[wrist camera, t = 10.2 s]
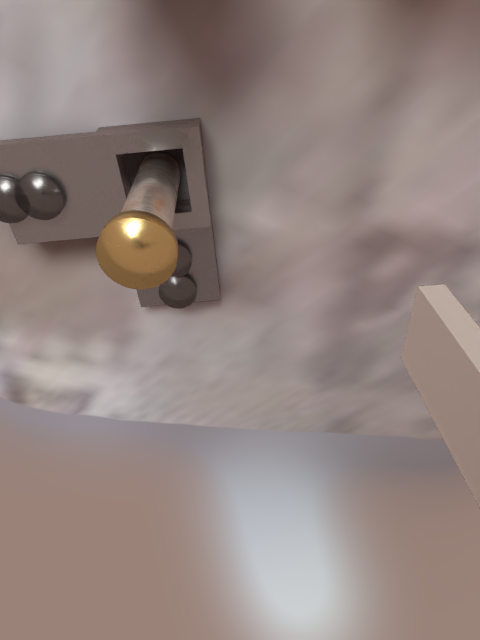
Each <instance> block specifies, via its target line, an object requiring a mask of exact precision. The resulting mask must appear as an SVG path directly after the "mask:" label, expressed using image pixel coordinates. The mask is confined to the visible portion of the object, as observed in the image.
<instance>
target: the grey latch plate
mask: <svg viewBox="0 0 480 640" xmlns="http://www.w3.org/2000/svg"><path fill="white" fill-rule="evenodd" d="M197 122H199V126H200V120H199V118H197V119H186V120H176V121H165V122H154V123H143V124H132V125H121V126H110V127H100V128H99V129H98V130H97V131H96V132H99V131H110V130H121V129H132V128H142V127H153V126H164V125H175V124H186V123H197ZM200 135H201V129H200ZM201 143H202V137H201ZM202 151H203V145H202ZM120 157H121V161H122V166H123V170H124V174H125V178H126V183H127V187H128V191H129V192H130V189H131V183H130V179H129V175H128V170H127V166H126V162H125V157H124V154H120ZM203 159H204V154H203ZM204 168H205V162H204ZM205 176H206V170H205ZM206 184H207V179H206ZM207 193H208V187H207ZM208 201H209V195H208ZM183 206H191V202H190V200H182V201H176V207H183ZM209 209H210V204H209ZM210 218H211V212H210ZM173 232H174V233H175V236H176V238H177V242H178V257H177V264H176V268H175V270H174V272H173V274H172V275H171V277H170V278H169V279H168V280H167V281H165V282H164V283H163V284H161V285H159V286H157V287H154V288H150V289H137V293H138V297H139V300H140V304H141V307H147V306H157V305H168V306H170V307H173V308H184V307H187V306H189V305H190V304H192V303H193V302H199V301H210V300H220V287H219V279H218V271H217V262H216V254H215V246H214V237H213V229H212V220H211V226H209V227H198V228H188V229H177V230H173Z"/></svg>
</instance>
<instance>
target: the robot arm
mask: <svg viewBox="0 0 480 640" xmlns="http://www.w3.org/2000/svg"><path fill="white" fill-rule="evenodd" d="M401 359H402V361H403V363H404V365H405V367H406V369H407V371H408V373H409V374H410V376H411V378H412V380H413V382H414V384H415V386H416V388H417V390H418V392H419V393H420V395H421V397H422V399H423V401H424V403H425V405H426V407H427V409H428V411H429V413H430V414H431V416H432V418H433V420H434V422H435V424H436V426H437V428H438V430H439V432H440V433H441V435H442V437H443V439H444V441H445V443H446V445H447V447H448V449H449V451H450V452H451V454H452V456H453V458H454V460H455V462H456V464H457V466H458V468H459V470H460V472H461V473H462V475H463V477H464V479H465V481H466V483H467V485H468V487H469V489H470V491H471V492H472V494H473V496H474V498H475V500H476V502H477V504H478V506H479V508H480V328H479V326H478V325H477V324H476V323H475V321H474V320H473V319H472V318H471V317H470V315H469V314H468V313H467V312H466V310H465V309H464V308H463V307H462V305H461V304H460V303H459V302H458V300H457V299H456V298H455V297H454V295H453V294H452V293H451V292H450V291H449V289H448V288H447V287H446V286H445V285H432V286H418V289H417V293H416V297H415V301H414V305H413V309H412V313H411V317H410V321H409V325H408V329H407V333H406V337H405V341H404V345H403V349H402V353H401Z"/></svg>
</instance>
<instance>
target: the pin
mask: <svg viewBox="0 0 480 640" xmlns="http://www.w3.org/2000/svg"><path fill="white" fill-rule="evenodd" d="M179 182H180V168H179V166H178V164H177V162H176V161H175V160H174V159H173V158H172V157H171V156H169V155H168V154H165V153H161V152H156V153H151V154H149V155H148V156H146V157H145V158H144V159H143V161H142V163H141V165H140V168H139V170H138V172H137V175H136V177H135V180H134V182H133V185H132V187H131V189H130V192H129V194H128V197H127V199H126V201H125V204H124V206H123V209H122V211H121V213H119V214H117V215H115V216H113V217H112V218H111V219H110V220H109V221H108V222H107V223H106V224H105V226H104V227H103V229H102V232H101V234H100V236H99V238H98V241H97V245H96V255H97V260H98V262H99V265H100V266H101V268H102V270H103V271H104V272H105V273H106V275H107V276H108V277H110V278H111V279H112V280H113V281H115V282H116V283H118V284H120V285H122V286H125V287H128V288H132V289H150V288H154V287H157V286H159V285H161V284H163V283H164V282H165V281H167V280H168V279H169V278H170V277H171V275H172V274H173V272H174V270H175V268H176V264H177V257H178V242H177V238H176V236H175V233H174V232H173V230H172V226H173V220H174V213H175V207H176V201H177V194H178V188H179Z"/></svg>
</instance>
